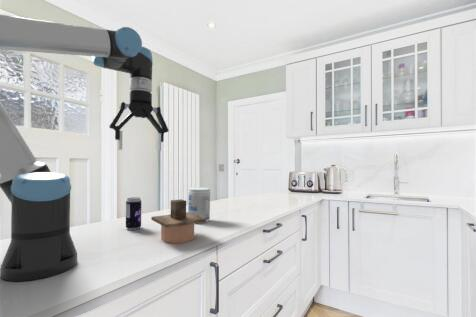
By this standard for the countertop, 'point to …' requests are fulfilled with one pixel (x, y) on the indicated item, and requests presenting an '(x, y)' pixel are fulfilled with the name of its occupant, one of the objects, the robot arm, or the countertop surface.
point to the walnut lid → (178, 216)
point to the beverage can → (133, 213)
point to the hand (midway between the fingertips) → (140, 150)
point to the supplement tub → (199, 202)
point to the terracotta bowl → (177, 233)
